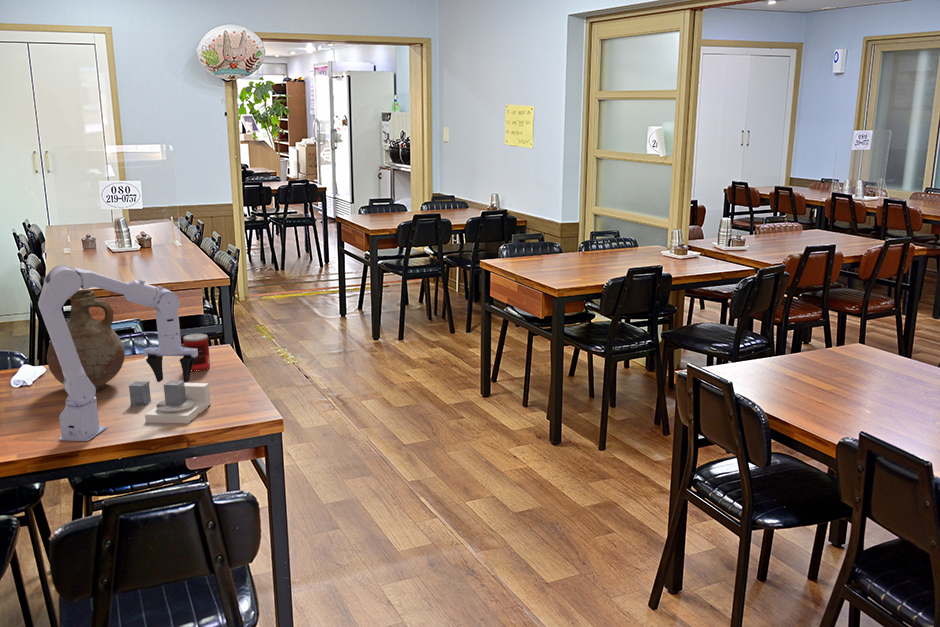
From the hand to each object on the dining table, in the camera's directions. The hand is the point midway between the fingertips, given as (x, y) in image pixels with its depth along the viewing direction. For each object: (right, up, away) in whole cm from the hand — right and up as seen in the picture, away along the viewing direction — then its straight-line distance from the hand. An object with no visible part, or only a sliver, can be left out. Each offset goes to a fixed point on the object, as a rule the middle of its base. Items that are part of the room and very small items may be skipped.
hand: (173, 381), depth 219 cm
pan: (0, -7, +2) cm, 7 cm away
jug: (-36, -4, +27) cm, 45 cm away
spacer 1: (-14, -7, +12) cm, 20 cm away
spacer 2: (0, -6, +2) cm, 7 cm away
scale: (0, -9, +4) cm, 10 cm away
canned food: (-9, 0, +46) cm, 47 cm away
